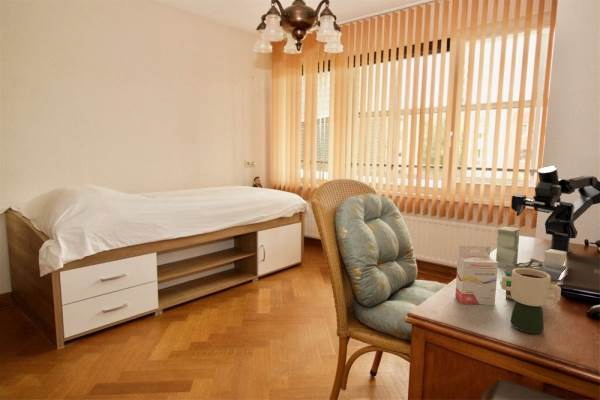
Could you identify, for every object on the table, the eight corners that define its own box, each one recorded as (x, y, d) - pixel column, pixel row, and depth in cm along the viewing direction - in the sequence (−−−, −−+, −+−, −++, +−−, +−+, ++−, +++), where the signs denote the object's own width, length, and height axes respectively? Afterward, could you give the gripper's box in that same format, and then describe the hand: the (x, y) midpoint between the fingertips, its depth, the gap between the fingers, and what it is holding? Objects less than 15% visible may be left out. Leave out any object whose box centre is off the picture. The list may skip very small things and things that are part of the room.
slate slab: (535, 268, 117) (536, 260, 116) (567, 275, 110) (568, 266, 109) (525, 274, 111) (526, 265, 111) (559, 282, 104) (560, 273, 104)
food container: (526, 310, 86) (529, 271, 84) (502, 300, 91) (504, 264, 90) (553, 299, 91) (556, 263, 90) (529, 291, 97) (531, 257, 95)
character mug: (557, 329, 76) (562, 273, 74) (556, 343, 71) (561, 283, 69) (501, 315, 83) (504, 264, 81) (496, 327, 77) (500, 272, 76)
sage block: (501, 261, 123) (503, 226, 121) (516, 265, 119) (519, 228, 117) (495, 264, 120) (498, 228, 118) (511, 268, 116) (514, 231, 114)
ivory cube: (548, 262, 122) (549, 248, 121) (565, 265, 118) (566, 251, 118) (543, 265, 119) (544, 251, 118) (561, 269, 115) (562, 254, 114)
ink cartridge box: (461, 304, 89) (464, 250, 87) (454, 296, 94) (457, 244, 92) (495, 305, 88) (499, 250, 86) (487, 297, 93) (490, 245, 91)
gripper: (521, 174, 130) (503, 192, 123) (582, 182, 116) (566, 203, 109) (520, 199, 135) (502, 218, 127) (578, 210, 121) (563, 232, 114)
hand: (531, 217), depth 119 cm, fingers open, 9 cm apart
